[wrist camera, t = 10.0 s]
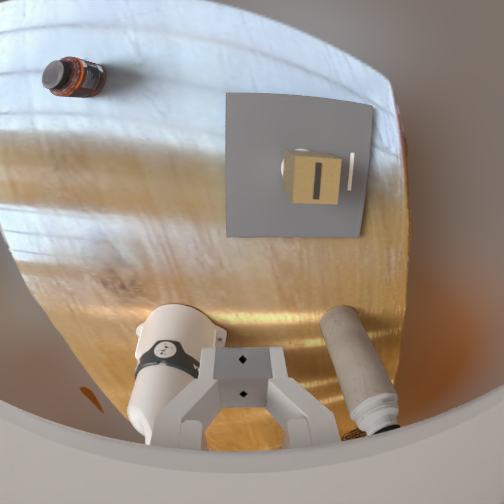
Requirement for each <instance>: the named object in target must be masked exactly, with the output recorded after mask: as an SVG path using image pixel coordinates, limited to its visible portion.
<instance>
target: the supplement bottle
mask: <svg viewBox="0 0 504 504" xmlns="http://www.w3.org/2000/svg"><path fill="white" fill-rule="evenodd" d="M104 82H105V71H104V69H103V68H102V67H101V66H100V65H98V64H96V63H92V62H89V61H85V60H82V59H79V58H75V57H65V58H62V59H60V60H59V61H53V62H51V63H50V64H49V65H48V66H47V67H46V68H45V70H44V72H43V75H42V84H43V86H44V87H45V88H47V89H49V90H50V92H51V93H52V94H54V95H56V96H62V97H80V98H88V97H92V96H94V95H96V94H97V93H98V92H99V91H100V90H101V89H102V87H103V85H104Z"/></svg>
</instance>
